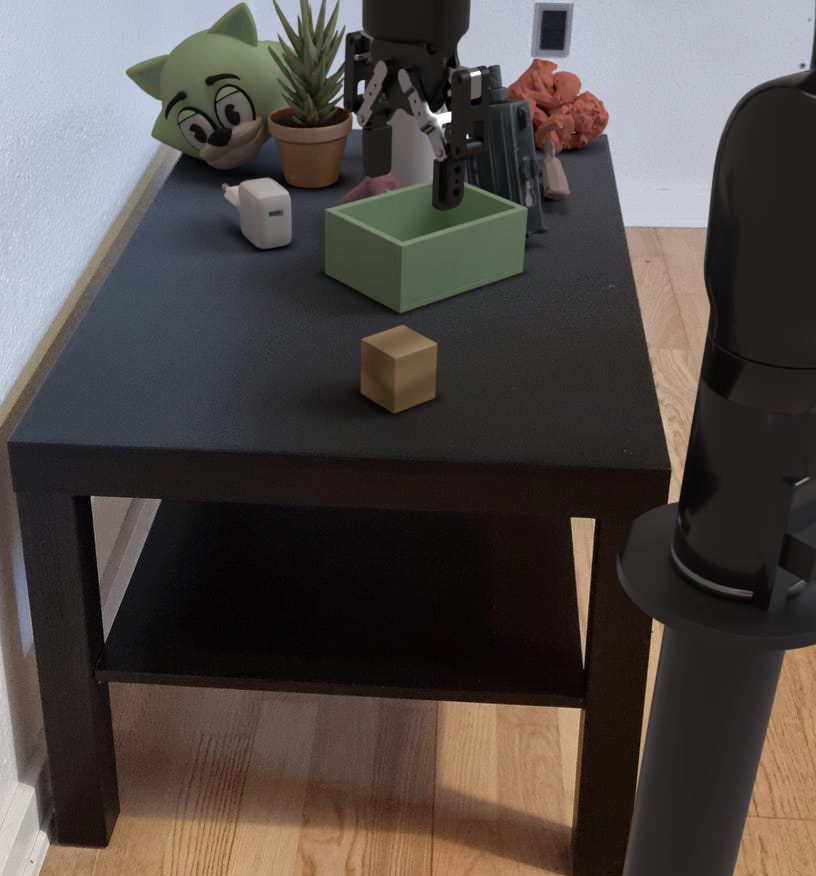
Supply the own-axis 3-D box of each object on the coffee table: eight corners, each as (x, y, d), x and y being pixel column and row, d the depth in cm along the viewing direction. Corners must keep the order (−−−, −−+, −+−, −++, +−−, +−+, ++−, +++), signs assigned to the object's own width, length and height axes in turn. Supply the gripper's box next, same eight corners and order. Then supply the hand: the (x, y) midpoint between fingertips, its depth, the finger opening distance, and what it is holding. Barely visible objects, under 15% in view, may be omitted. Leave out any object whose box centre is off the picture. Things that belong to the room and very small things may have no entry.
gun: (430, 69, 142) (531, 60, 130) (451, 228, 148) (549, 232, 136) (411, 74, 140) (511, 65, 129) (433, 233, 146) (530, 239, 135)
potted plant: (284, 161, 159) (278, -62, 145) (361, 168, 156) (363, -58, 143) (257, 190, 151) (248, -44, 137) (338, 198, 148) (337, -39, 135)
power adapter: (215, 217, 144) (212, 164, 141) (257, 210, 146) (255, 157, 143) (255, 254, 136) (252, 198, 132) (298, 246, 137) (297, 190, 134)
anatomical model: (601, 143, 166) (552, 212, 158) (514, 96, 168) (461, 162, 160) (630, 81, 158) (579, 150, 150) (538, 32, 160) (483, 99, 152)
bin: (522, 272, 132) (528, 208, 128) (399, 313, 124) (401, 246, 120) (445, 237, 139) (448, 175, 136) (325, 273, 132) (324, 209, 128)
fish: (553, 171, 156) (558, 129, 153) (568, 220, 145) (574, 176, 142) (530, 171, 156) (535, 129, 153) (544, 219, 145) (549, 175, 142)
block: (435, 398, 110) (437, 343, 107) (393, 414, 108) (395, 358, 105) (401, 378, 113) (402, 324, 110) (360, 393, 111) (360, 338, 108)
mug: (412, 197, 149) (416, 88, 142) (366, 184, 153) (367, 77, 146) (467, 174, 155) (472, 69, 148) (421, 162, 159) (425, 58, 152)
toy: (177, 225, 156) (99, 121, 147) (189, 145, 169) (118, 45, 160) (328, 145, 149) (256, 31, 140) (328, 68, 162) (262, -40, 153)
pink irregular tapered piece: (388, 261, 138) (420, 200, 135) (349, 244, 136) (380, 183, 133) (370, 225, 146) (400, 168, 143) (333, 210, 144) (362, 151, 141)
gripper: (528, -27, 88) (511, 209, 97) (398, -62, 98) (393, 155, 107) (439, -12, 85) (429, 231, 94) (313, -50, 94) (315, 174, 103)
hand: (410, 190), depth 100 cm, fingers open, 8 cm apart
